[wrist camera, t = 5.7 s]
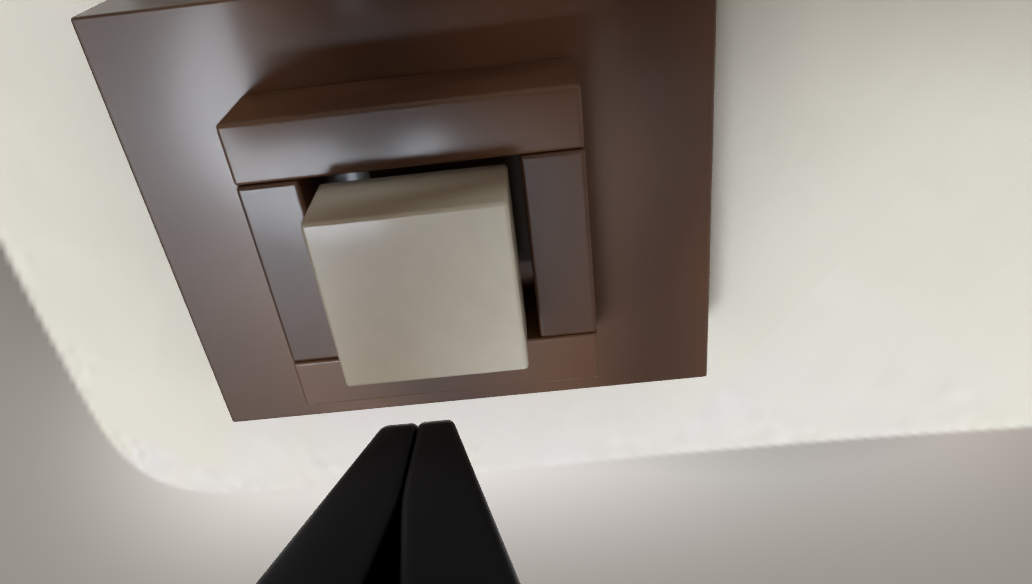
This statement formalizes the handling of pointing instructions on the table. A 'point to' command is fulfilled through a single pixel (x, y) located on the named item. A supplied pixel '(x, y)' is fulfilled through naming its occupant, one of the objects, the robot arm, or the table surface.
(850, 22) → the table surface
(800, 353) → the table surface
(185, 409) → the table surface
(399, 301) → the key
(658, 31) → the key block
